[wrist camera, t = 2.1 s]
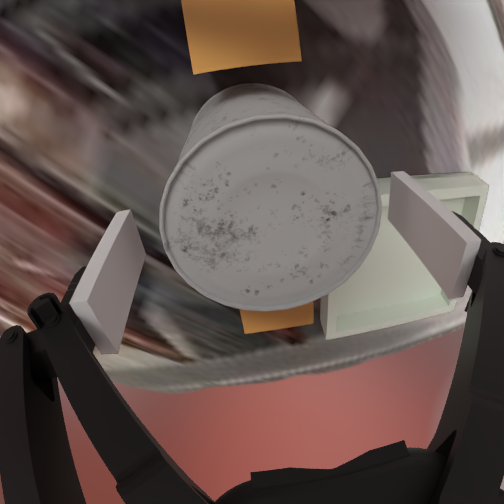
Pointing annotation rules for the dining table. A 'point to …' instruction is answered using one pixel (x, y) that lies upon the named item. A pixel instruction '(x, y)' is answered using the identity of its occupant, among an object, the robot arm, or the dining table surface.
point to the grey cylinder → (267, 202)
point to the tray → (399, 266)
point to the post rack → (239, 55)
